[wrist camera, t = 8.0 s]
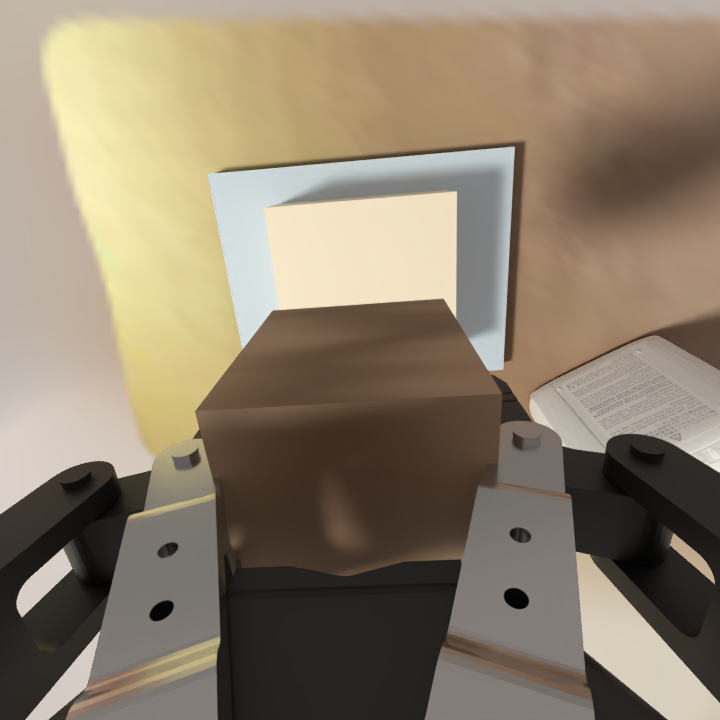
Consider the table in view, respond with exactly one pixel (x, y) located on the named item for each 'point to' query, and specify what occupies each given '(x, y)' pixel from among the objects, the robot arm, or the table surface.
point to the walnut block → (352, 437)
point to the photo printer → (636, 400)
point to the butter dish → (372, 238)
